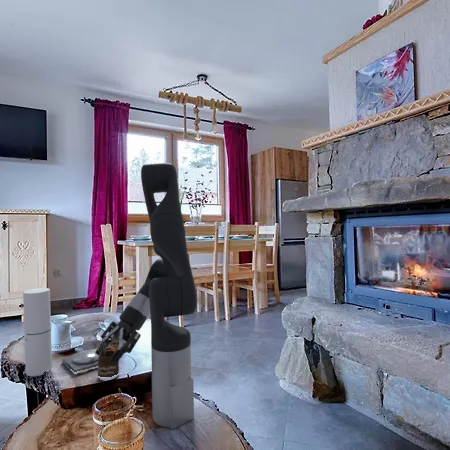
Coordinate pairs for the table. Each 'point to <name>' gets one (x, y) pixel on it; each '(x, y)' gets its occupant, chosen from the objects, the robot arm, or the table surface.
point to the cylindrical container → (37, 331)
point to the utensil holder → (107, 363)
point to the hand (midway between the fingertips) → (104, 359)
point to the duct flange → (82, 360)
